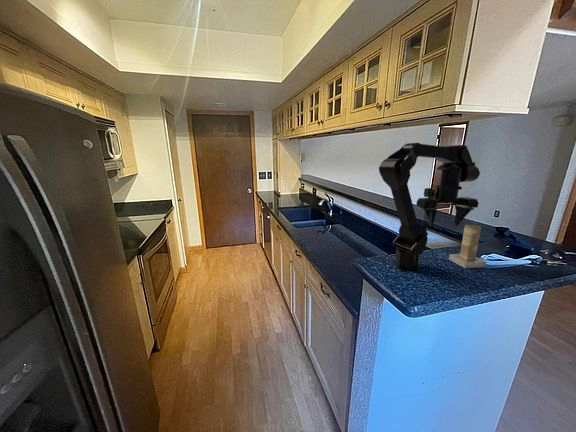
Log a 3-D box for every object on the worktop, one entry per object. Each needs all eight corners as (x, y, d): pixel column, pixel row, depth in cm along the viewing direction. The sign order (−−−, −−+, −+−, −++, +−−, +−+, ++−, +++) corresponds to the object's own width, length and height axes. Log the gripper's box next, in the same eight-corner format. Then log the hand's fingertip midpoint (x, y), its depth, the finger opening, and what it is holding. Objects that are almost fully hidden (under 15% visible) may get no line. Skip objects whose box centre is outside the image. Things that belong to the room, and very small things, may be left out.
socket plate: (464, 268, 83) (465, 262, 82) (448, 259, 90) (449, 254, 90) (485, 267, 83) (486, 261, 83) (467, 258, 91) (468, 253, 90)
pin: (465, 265, 85) (472, 227, 82) (458, 261, 88) (465, 224, 85) (474, 264, 85) (481, 227, 82) (467, 261, 88) (473, 224, 85)
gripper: (459, 180, 91) (453, 219, 95) (410, 181, 91) (406, 221, 94) (483, 183, 80) (475, 228, 84) (428, 184, 80) (422, 229, 84)
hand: (443, 226), depth 87 cm, fingers open, 9 cm apart
